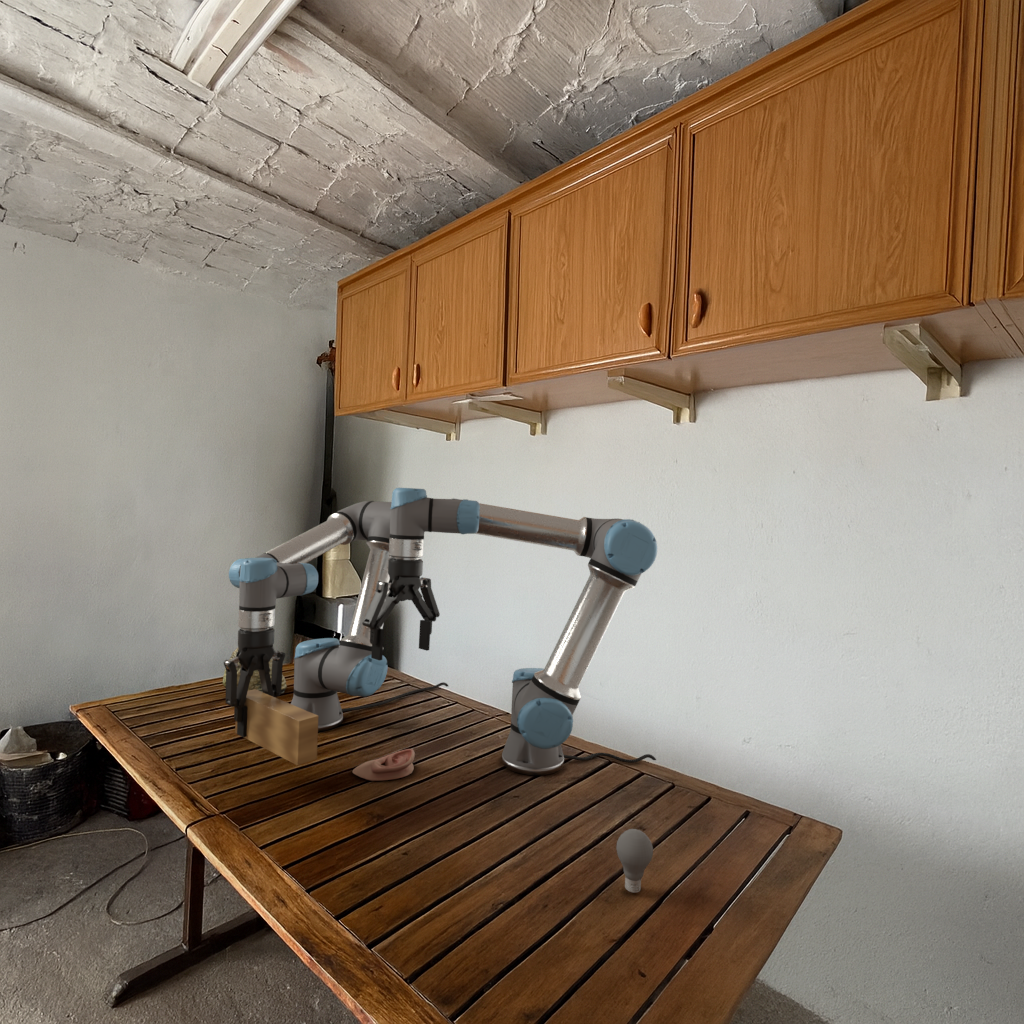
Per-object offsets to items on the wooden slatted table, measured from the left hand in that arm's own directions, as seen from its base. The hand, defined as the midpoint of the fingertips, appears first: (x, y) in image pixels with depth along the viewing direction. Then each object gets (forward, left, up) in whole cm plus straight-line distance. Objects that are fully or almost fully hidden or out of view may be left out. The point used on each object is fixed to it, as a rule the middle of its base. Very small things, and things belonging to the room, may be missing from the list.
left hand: (252, 731), depth 141 cm
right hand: (-19, +26, +19) cm, 38 cm away
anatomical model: (-23, +18, -10) cm, 31 cm away
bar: (0, +9, -1) cm, 9 cm away
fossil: (-30, -53, -10) cm, 62 cm away
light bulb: (-21, +83, -10) cm, 87 cm away
